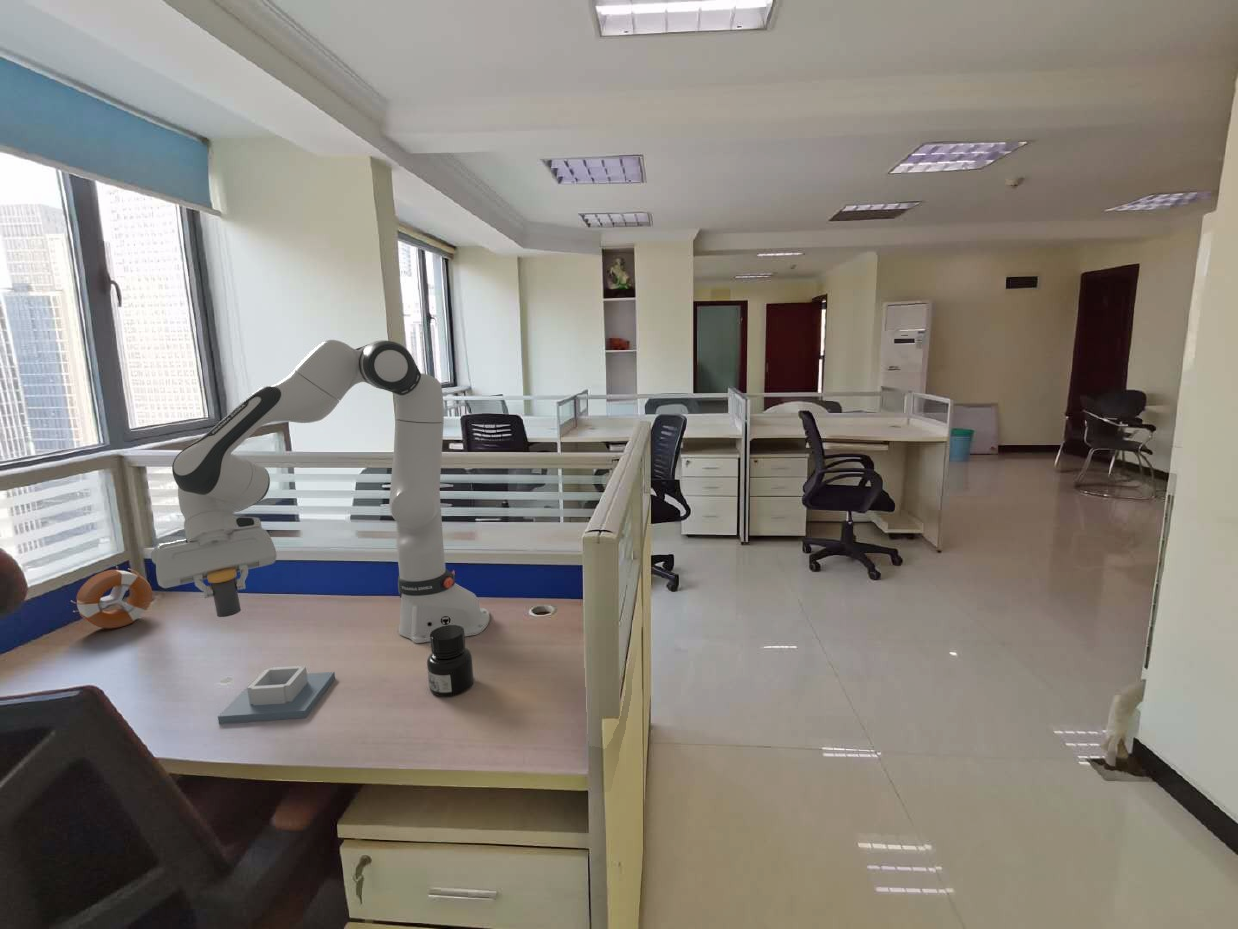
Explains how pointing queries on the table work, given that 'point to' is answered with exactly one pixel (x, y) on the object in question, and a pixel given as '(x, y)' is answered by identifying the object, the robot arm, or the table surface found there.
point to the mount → (278, 695)
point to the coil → (113, 598)
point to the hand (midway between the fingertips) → (225, 592)
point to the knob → (225, 591)
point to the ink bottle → (449, 662)
